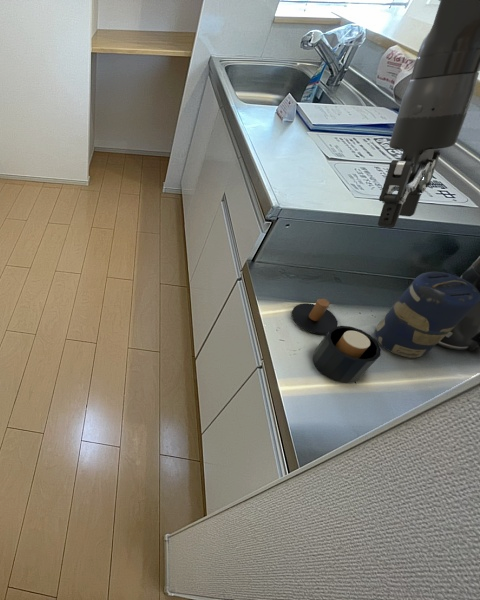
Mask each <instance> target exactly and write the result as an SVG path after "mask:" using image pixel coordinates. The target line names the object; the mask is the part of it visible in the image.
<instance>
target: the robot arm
mask: <svg viewBox="0 0 480 600" xmlns="http://www.w3.org/2000/svg"><path fill="white" fill-rule="evenodd" d="M438 1H439V5H438V8H437V11H436V14H435V17H434V21H433V24H432V26H431V28H430V30H429V31H428V33H427V34H426V36H425V37H424V38H423V40H422V42H421V44H420V46H419V49H418V51H417V55H416V59H415V61H414V65H413V69H412V72H411V76H410V80H409V82H408V85H407V87H406V89H405V92H404V94H403V96H402V100H401V103H400V106H399V109H398V113H397V117H396V120H395V123H394V127H393V129H392V133H391V137H390V140H389V144H388V145H389V148H390V149H393V150H402V153H401V156H400V158H399V160H398V159H392V160H391V162H390V163H389V166H388V170H387V173H386V176H385V180H384V182H383V186H382V189H381V193H380V195H379V196H378V197H379V198H378V201H379V202H381V203H382V204H383V205H382V208H381V212H380V215H379V218H378V222H377V225H378V227H381V228H389V229H392V228H394V227H396V226H397V223H398V221H399V218H400V216H401V217H412V216H413V215H415V213H416V210H417V207H418V205H419V201H420V200H421V196H422V194H424V192H426V188H429V186H431V181H432V179H433V176H434V171H435V170H436V166H437V164H438V160H439V158H440V156H441V153H442V150H441V149H446V148H450V147H452V146H454V145H456V143H457V141H458V138H459V135H460V133H461V131H462V127H463V125H464V123H465V119H466V117H467V115H468V112H469V109H470V106H471V103H472V101H473V98H474V95H475V92H476V88H477V83H478V78H479V75H480V0H438ZM394 192H397V193H394ZM460 278H462V279H464V280H466V281H468V282H469V283H471V284H472V285H473V286H474V287H475V288H476V289H477V290H478V291H479V293H480V255H479V256H478V257H477V259H475V260H474V261H473V263H471V265H470V266H469V267H468V268H467V269H466V270H465V271H464V272H463V273H462V274H461V275H460ZM436 345H438V346H440V347H442V348H446V349H448V350H449V349H450V350H454V351H455V350H457V351H464V350H466V351H470V352H473V351H475V350H476V348H479V349H480V301H479V303H478V304H477V305H476V306H475V307H474V308H473V309H472V310H471V311H470V312H469V313H468V314H467V315H466V316H465V317H464V318H463V319H462V320H461V321H460V322H459V323H458V324H457V325H456V326H455V327H454V328H453V329H452V330H451V331H450V332H449V333H448V334H447V335H446V336H445V337H444V338H443V339H442V340H440V341H439V342H438V343H437V344H436Z"/></svg>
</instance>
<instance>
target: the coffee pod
mask: <svg viewBox="0 0 480 600" xmlns="http://www.w3.org/2000/svg"><path fill="white" fill-rule="evenodd" d="M335 346H336V347H337V349H338V350H340V351H341V352H343V353H345V354H346V355H349V356H351V357H354V358H360V357H361V355H362V354H363V353H364V352H365V351H366V349H367V348H368V347H369V346H370V340H369V339H368V338H367V337H366V336H365V335H364V334H362V333H360V332H357V331H346V332H345V333H344V334H343V335H342V337H341V338H340V340H339V341H338V342H337V344H336V345H335Z"/></svg>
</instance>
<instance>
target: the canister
mask: <svg viewBox="0 0 480 600" xmlns="http://www.w3.org/2000/svg"><path fill="white" fill-rule="evenodd" d="M460 277H461V276H460ZM460 277H459V276H457V275H454V274H451V273H449V272H443V271H427V272H423V273H421V274H419V275H417V276H416V277H415V278H414V279H413V281H412V282H411V283H410V284H409V286H408V287H407V288H406V290H405V291H404V292H403V293H402V295H401V296H400V297H399V298H398V299H397V301H396V302H395V303H394V304H393V305H392V306H391V308H389V310H388V311H387V313H386V314H385V315H384V316H383V318H382V319H381V321H380V322H379V323H378V324H377V326H376V327H375V329H374V336H375V338H376V339H375V340H376V341H377V342H378V344H379V345H381V346H382V347H383V348H385V349H386V350H388V351H389V352H390V353H393V354H395V355H398V356H401V357H405V358H421V357H423V356H426V355H427V354H428V353H429V352H430V351H432V349H433V348H434V347H435V346H436V345H438V344H437V343H438V342H439V341H440V340H442V339H443V338H444V337H445V336H446V335H447V334H448V333H449V332H450V331H451V330H452V329H453V328H454V327H455V326H456V325H457V324H458V323H459V322H460V321H461V320H462V319H463V318H464V317H465V316H466V315H467V314H468V313H469V312H470V311H471V310H472V309H473V308H474V307H475V306H476V305H477V304H478V303H479V301H480V293H479V291H478V290H477V289H476V288H475V287H474V286H473V285H472V284H471V283H469V282H468V281H466V280H464V279H462V278H460Z"/></svg>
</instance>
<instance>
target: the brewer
mask: <svg viewBox="0 0 480 600" xmlns="http://www.w3.org/2000/svg"><path fill="white" fill-rule="evenodd" d="M346 331H357V332H360V333H362V334H364V335H365V336H366V337H367V338H368V339H369V340H370V346H369V347H368V348H367V349H366V351H365V352H364V353H363V354H362V355H361V357H360V358H354V357H351V356H349V355H346V354H345V353H343V352H341V351H340V350H338V349H337V347H336V346H335V345H336V344H337V342H338V341H339V340H340V338H341V337H342V335H343V334H344V333H345V332H346ZM381 353H382V348H381V346H380V343H379V342H378V340H377V339H375V338H374V337H373V336H372V335H371V334H369V333H367V332H366V331H364V330H362V329H359V328H357V327H354V326H349V325H337V327H333V328H332V329H330V330H329V331H328V333H327V334H325V336H324V337H323V338H322V340H321V342H320V343H319V345H318V346H317V347H316V349H315V350H314V352H313V355H312V364H313V366H314V367H315V369H316V370H317V371H318V372H319V373H321V374H322V375H323V376H324V377H326V378H327V379H329V380H332V381H334V382H337V383H342V384H353V383H355V382H357V381H359V379H360V378H362V377H363V375H364V374H365V373H366V372H367V371H368V370H369V369H370V368H371V367H372V366H373V365H374V364H375V362H377V360H378V359H379V358H380V357H381Z"/></svg>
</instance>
